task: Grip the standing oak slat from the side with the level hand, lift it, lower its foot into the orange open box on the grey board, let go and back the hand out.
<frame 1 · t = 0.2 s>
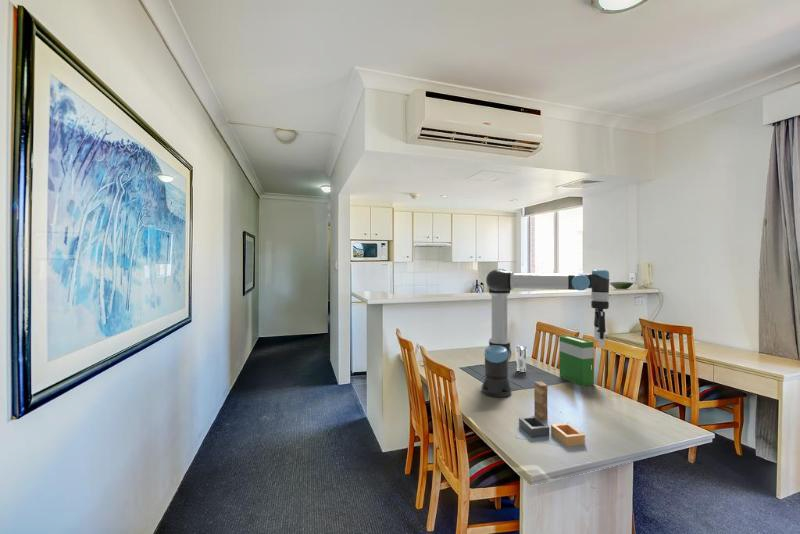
hand: (599, 342, 168), 28 cm above the table, tool pointing down, fingers open, 13 cm apart
beer glass: (521, 371, 209), on the table
grey open box: (533, 430, 133), resting on cap board
cap board: (550, 438, 130), on the table
oak slat: (540, 420, 144), on the table
hardback book: (576, 380, 192), on the table
orange open box: (567, 438, 127), resting on cap board
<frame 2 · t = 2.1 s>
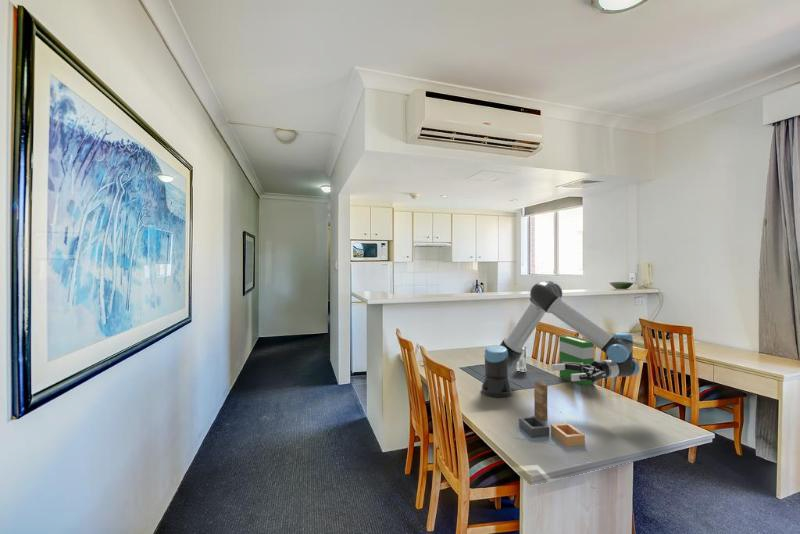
hand: (561, 372, 146), 20 cm above the table, tool horizontal, fingers open, 13 cm apart
nothing on the table moved.
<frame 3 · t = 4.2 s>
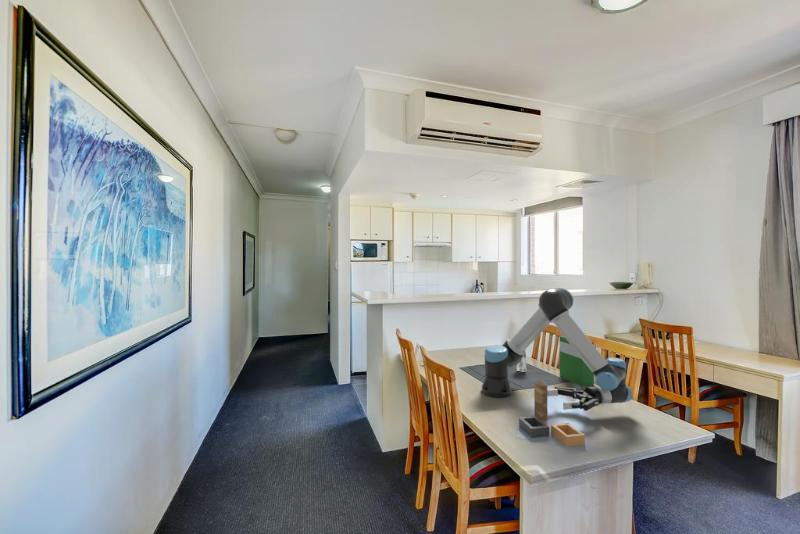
hand: (553, 399, 145), 9 cm above the table, tool horizontal, fingers open, 13 cm apart
nothing on the table moved.
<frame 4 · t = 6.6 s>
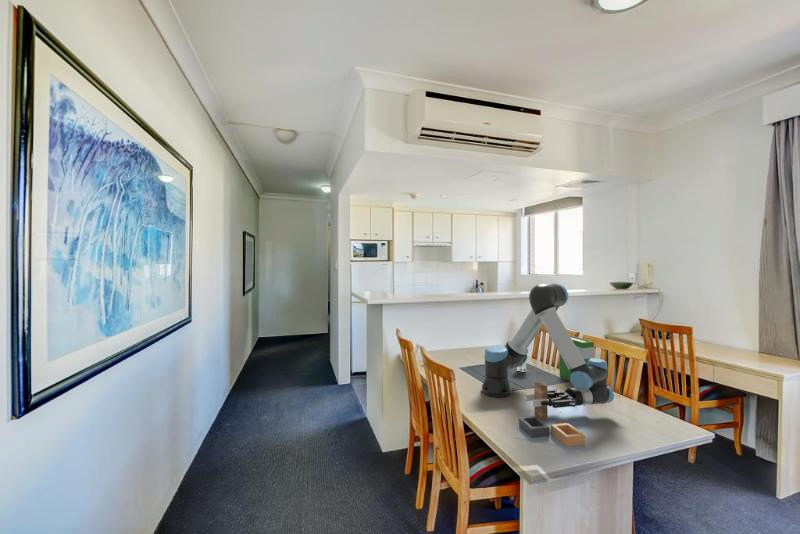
hand: (529, 400, 143), 9 cm above the table, tool horizontal, fingers closed on oak slat, 5 cm apart
oak slat: (540, 420, 144), on the table, touching gripper
everything else where it was.
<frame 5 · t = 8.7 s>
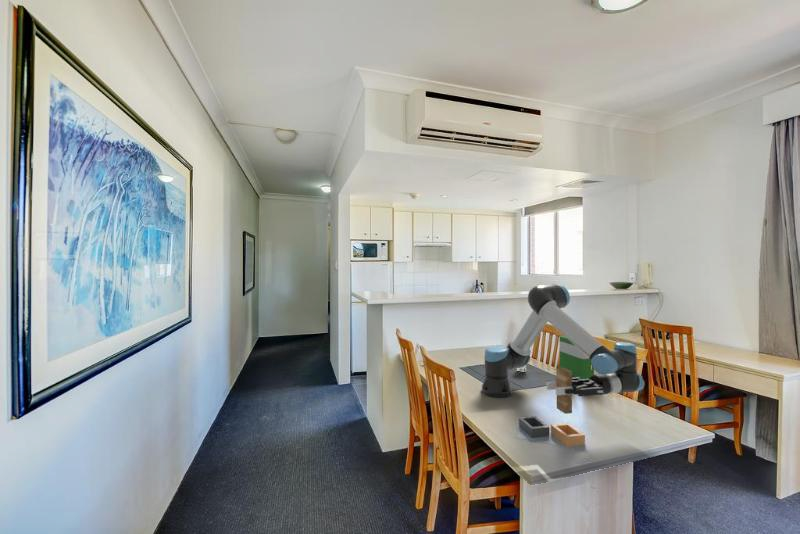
hand: (551, 388, 129), 20 cm above the table, tool horizontal, fingers closed on oak slat, 5 cm apart
oak slat: (564, 410, 130), point 11 cm above the table, touching gripper
everything else where it was.
when the fingers open (11 cm above the table, at t = 11.1 s): oak slat stays where it is, resting on cap board.
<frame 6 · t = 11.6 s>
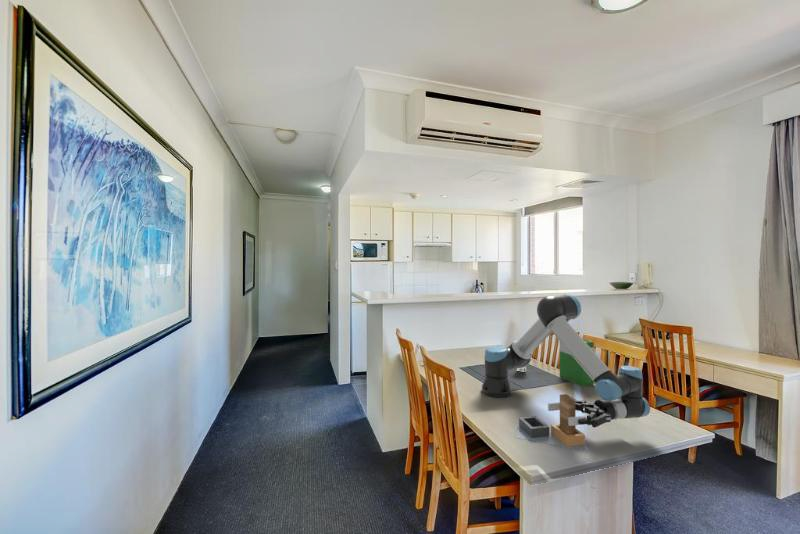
hand: (558, 414, 126), 11 cm above the table, tool horizontal, fingers open, 11 cm apart
oak slat: (567, 438, 127), point 1 cm above the table, touching cap board
everything else where it was.
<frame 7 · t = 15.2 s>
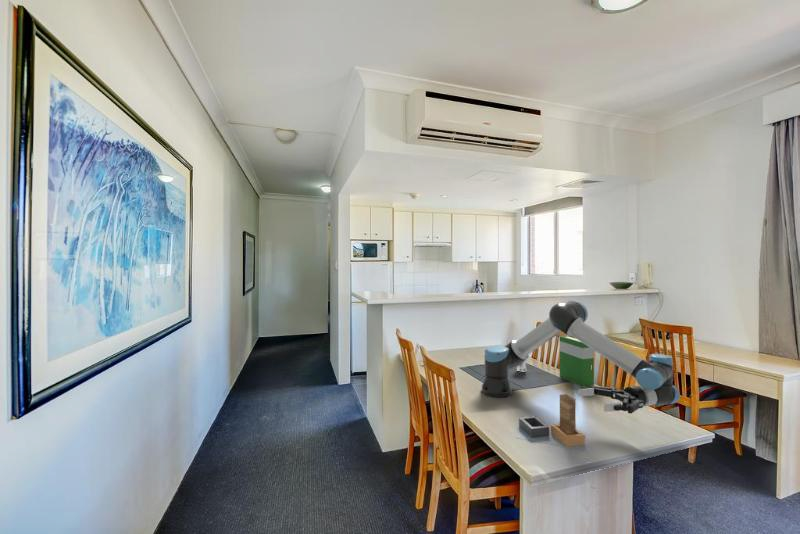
hand: (591, 399, 128), 15 cm above the table, tool horizontal, fingers open, 13 cm apart
nothing on the table moved.
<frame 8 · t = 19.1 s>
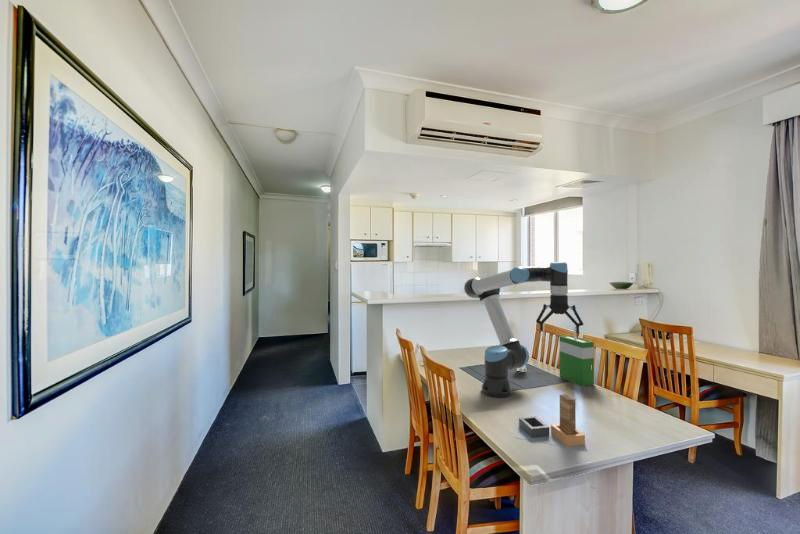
hand: (559, 338, 159), 32 cm above the table, tool pointing down, fingers open, 13 cm apart
nothing on the table moved.
at the end: oak slat 0.0 cm off-centre on the orange open box, point 0.0 cm above the orange open box's base; oak slat tilted 0°; the gripper is holding nothing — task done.
